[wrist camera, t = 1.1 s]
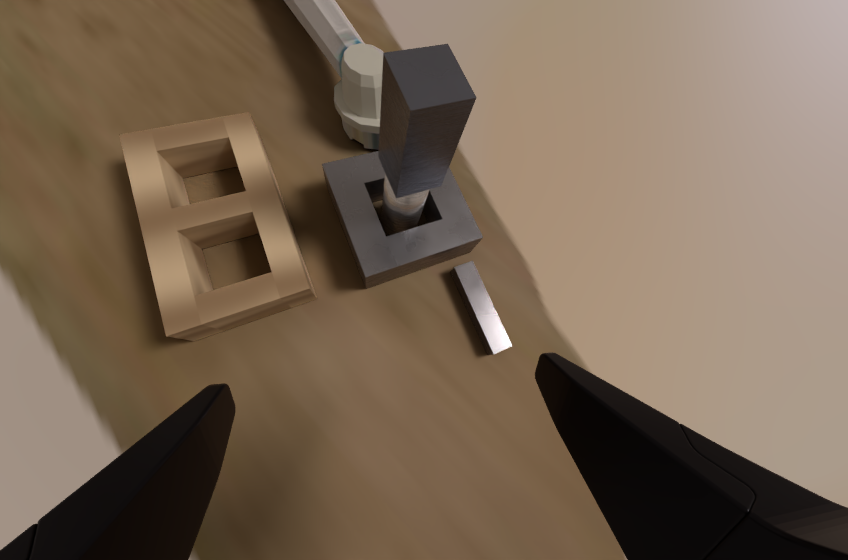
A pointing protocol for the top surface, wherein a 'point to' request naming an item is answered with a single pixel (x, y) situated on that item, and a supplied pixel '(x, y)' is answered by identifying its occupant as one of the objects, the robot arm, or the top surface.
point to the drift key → (480, 308)
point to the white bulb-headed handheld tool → (347, 67)
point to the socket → (404, 251)
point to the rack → (211, 224)
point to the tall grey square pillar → (418, 128)
